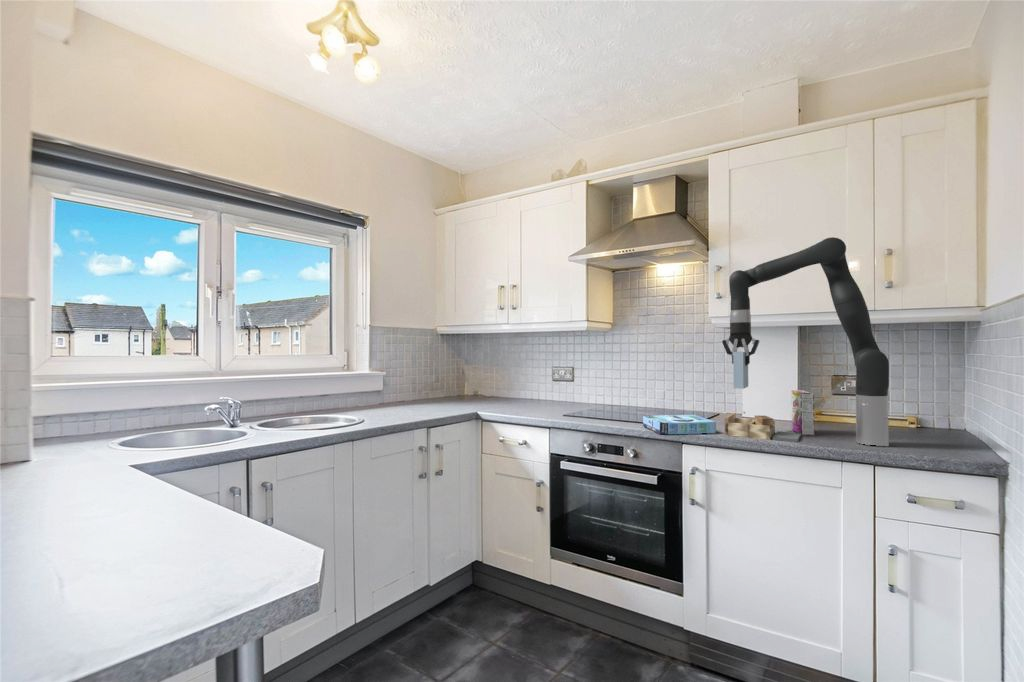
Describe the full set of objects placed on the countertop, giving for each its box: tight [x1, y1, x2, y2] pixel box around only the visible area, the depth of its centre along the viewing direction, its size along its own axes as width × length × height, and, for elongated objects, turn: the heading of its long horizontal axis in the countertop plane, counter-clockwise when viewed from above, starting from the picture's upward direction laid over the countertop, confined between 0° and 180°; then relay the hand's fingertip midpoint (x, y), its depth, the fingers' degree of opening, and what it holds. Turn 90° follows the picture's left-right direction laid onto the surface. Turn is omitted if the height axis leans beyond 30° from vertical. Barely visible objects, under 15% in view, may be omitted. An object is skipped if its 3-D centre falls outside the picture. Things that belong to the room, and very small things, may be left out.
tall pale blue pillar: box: [732, 351, 749, 390], centre depth 198 cm, size 4×11×14 cm, turn 146°
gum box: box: [642, 414, 717, 435], centre depth 207 cm, size 20×5×23 cm
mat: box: [772, 431, 802, 443], centre depth 189 cm, size 8×14×1 cm, turn 146°
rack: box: [724, 412, 776, 441], centre depth 196 cm, size 16×15×7 cm
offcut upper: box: [754, 415, 774, 428], centre depth 193 cm, size 4×8×4 cm, turn 173°
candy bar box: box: [790, 389, 815, 436], centre depth 199 cm, size 11×5×16 cm, turn 168°
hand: (740, 365), depth 198 cm, fingers closed on tall pale blue pillar, 3 cm apart
